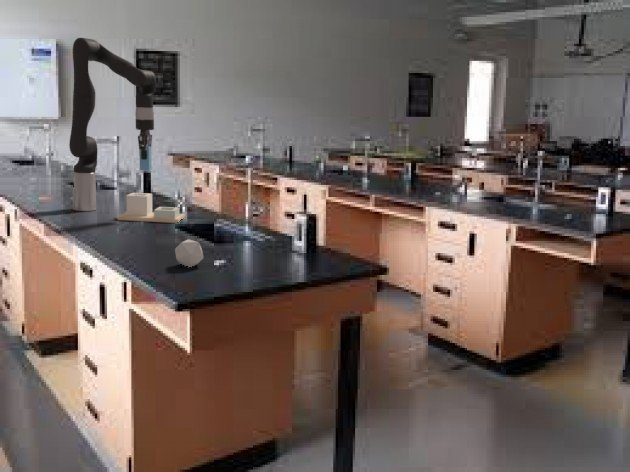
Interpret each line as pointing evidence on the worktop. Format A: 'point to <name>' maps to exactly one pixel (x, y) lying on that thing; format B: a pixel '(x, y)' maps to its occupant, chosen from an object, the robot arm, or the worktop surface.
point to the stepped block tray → (148, 210)
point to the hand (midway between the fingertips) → (145, 158)
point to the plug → (146, 163)
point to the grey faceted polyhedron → (189, 253)
